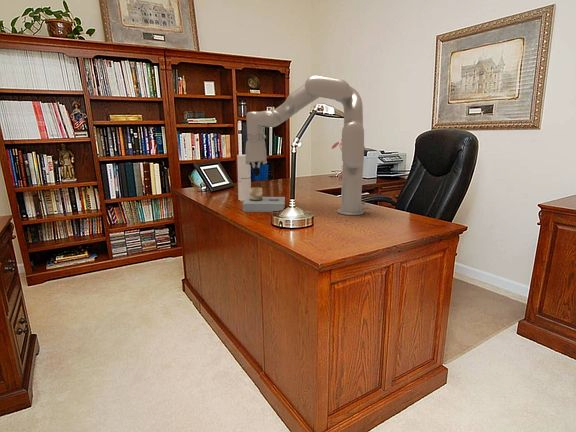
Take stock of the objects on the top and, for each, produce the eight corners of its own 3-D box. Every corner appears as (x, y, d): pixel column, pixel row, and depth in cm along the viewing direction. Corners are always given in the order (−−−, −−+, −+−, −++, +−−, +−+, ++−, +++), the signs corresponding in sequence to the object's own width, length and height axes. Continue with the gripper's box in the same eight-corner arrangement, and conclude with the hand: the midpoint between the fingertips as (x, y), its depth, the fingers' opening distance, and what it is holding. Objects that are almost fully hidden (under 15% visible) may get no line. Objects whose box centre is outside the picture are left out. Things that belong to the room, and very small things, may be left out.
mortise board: (284, 204, 186) (284, 197, 185) (284, 212, 169) (284, 203, 168) (247, 204, 187) (247, 196, 186) (242, 211, 169) (242, 203, 168)
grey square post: (248, 201, 194) (247, 155, 188) (236, 200, 196) (235, 155, 190) (252, 198, 201) (251, 154, 195) (240, 198, 202) (239, 154, 196)
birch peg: (263, 206, 181) (262, 187, 179) (262, 208, 175) (261, 189, 172) (250, 206, 181) (250, 187, 179) (249, 208, 175) (248, 189, 172)
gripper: (271, 137, 173) (272, 174, 177) (241, 138, 173) (242, 175, 178) (270, 137, 166) (271, 176, 170) (238, 138, 166) (240, 177, 170)
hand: (256, 175), depth 174 cm, fingers closed
